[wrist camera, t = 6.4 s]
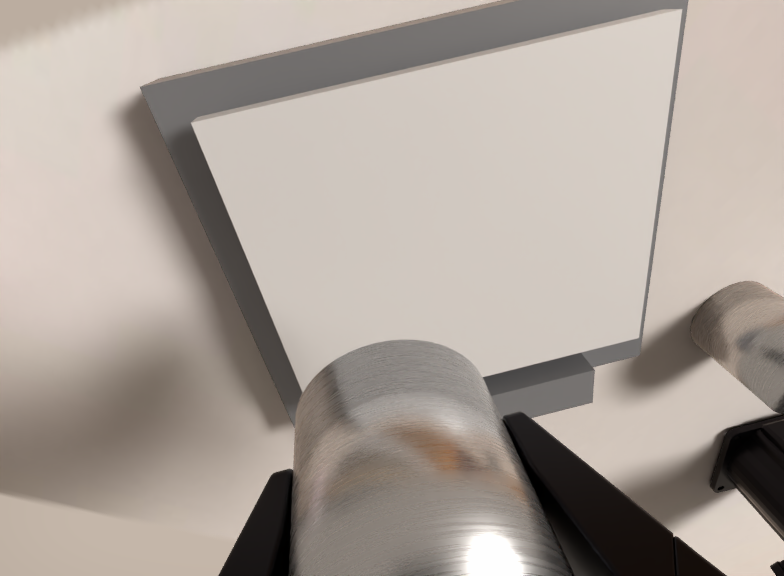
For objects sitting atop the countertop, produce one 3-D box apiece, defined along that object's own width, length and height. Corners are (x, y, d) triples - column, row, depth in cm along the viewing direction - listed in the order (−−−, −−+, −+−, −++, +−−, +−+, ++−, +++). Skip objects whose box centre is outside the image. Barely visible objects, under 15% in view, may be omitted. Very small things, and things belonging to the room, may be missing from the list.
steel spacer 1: (493, 454, 12) (597, 709, 7) (325, 497, 11) (332, 780, 7) (479, 317, 9) (618, 573, 5) (266, 369, 9) (226, 676, 5)
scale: (616, 336, 24) (674, 399, 20) (303, 415, 24) (302, 494, 20) (652, -34, 16) (766, -50, 12) (159, 78, 15) (105, 101, 11)
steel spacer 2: (758, 337, 26) (844, 400, 22) (684, 356, 26) (757, 423, 22) (778, 272, 24) (880, 329, 19) (697, 292, 24) (782, 353, 19)
